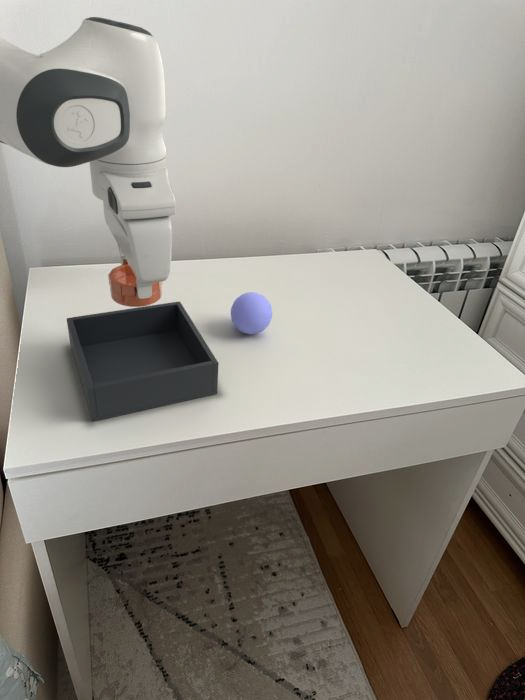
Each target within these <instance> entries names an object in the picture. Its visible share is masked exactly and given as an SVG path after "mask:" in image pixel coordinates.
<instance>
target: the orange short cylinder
mask: <svg viewBox="0 0 525 700" xmlns="http://www.w3.org/2000/svg"><path fill="white" fill-rule="evenodd" d="M107 275H108V277H107V278H108V286H109V291H110V296H111V300H112V301H114V302H115V303H116V304H118V305H121V306H124V307H129V308H130V307H131V308H138V307H145V306H151V305H154V304H155V303H157V302H158V301H160V300H161V298H162V296H163V281H161V282H154V283H153V284H152V296H151V297H150V298H144V299H140V298H139V297H138V295H137V293H136V291H135V289H136V288H135V282H136V276H135V275H134V273H133V271H132V269H131V267H130V265H129V264H123V265H121V264H120V265H118V266H115V267H114V268H112V269H111V271H110V272H109V273H108V274H107Z"/></svg>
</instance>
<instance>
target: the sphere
mask: <svg viewBox="0 0 525 700" xmlns="http://www.w3.org/2000/svg"><path fill="white" fill-rule="evenodd" d="M230 318H231V322H232V325H234V327H235V328H236V329H237V330H238V331H240V332H241V333H243V334H246V335H257V334H259V333H262V332H264V331H265V330H266V329H267V328H268V327H269V326H270V323H271V321H272V319H273V309H272V305H271V303H270V301H269V300H268V299H267V298H266V297H265V296H263V294H260V293H258V292H251V291H249V292H245V293H243V294H240V295H239V296H238V297H236V299H235V300H234V301H233V303H232V306H231V307H230Z"/></svg>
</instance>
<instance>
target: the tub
mask: <svg viewBox="0 0 525 700" xmlns="http://www.w3.org/2000/svg"><path fill="white" fill-rule="evenodd" d="M66 325H67V331H68V332H67V333H68V338H69V344H70V350H71V354H72V357H73V360H74V361H73V362H74V364H75V368H76V371H77V375H78V378H79V382H80V385H81V389H82V392H83V395H84V399H85V403H86V406H87V409H88V413H89V416H90V420H91V422H92V423H93V422H98V421H103V420H107V419H111V418H115V417H120V416H125V415H129V414H134V413H138V412H143V411H146V410H147V411H148V410H151V409H152V410H153V409H156V408H161V407H165V406H169V405H173V404H179V403H182V402H187V401H191V400H196V399H199V398H200V399H202V398H204V397H209V396H215V395H217V394H218V383H219V361H218V360H217V358H216V357H215V354H214V353H213V352H212V350H211V348H210V347H209V345H208V344H207V342H206V340H205V339H204V338H203V336H202V334H201V332H200V331H199V329H198V327H197V326H196V325H195V323H194V322H193V320H192V319H191V317H190V315H189V314H188V312H187V310H186V309H185V307H184V305H183V304H182V303H181V301H172V302H165V303H158V304H151V305H147V306H141V307H131V308H126V309H119V310H113V311H106V312H105V311H104V312H99V313H92V314H85V315H78V316H72V317H67V318H66Z"/></svg>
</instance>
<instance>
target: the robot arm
mask: <svg viewBox="0 0 525 700" xmlns="http://www.w3.org/2000/svg"><path fill="white" fill-rule="evenodd" d="M163 64H164V63H163V59H162V53H161V50H160V47H159V44H158V41H157V39H156V37H155V36H154V35H153V34H152V33H151V32H150V31H148V30H147V29H145V28H143V27H141V26H138V25H135V24H134V25H133V24H130V23H126V22H123V21H117V20H112V19H110V18H104V17H100V16H89V17H87V18H84V19H83V20H82V22H81V23H80V26H79V27H78V28H77V30H76V31H74V33H73V34H71V35H70V37H68V38H67V39H65V40H64V41H63V42H61V43H60V44H58V45H57V46H55V47H53V48H51V49H49V50H47V51H45V52H43V53H40V54H39V55H38V54H36V53H32V52H28V51H26V50H24V49H22V48H20V47H18V46H17V45H15V44H13V43H11V42H9V41H8V40H6V39H5V38H3V37H2V36H0V143H2V144H4V145H7V146H9V147H11V148H13V149H15V150H16V151H19V152H20V153H22V154H24V155H26V156H29V157H32V158H33V159H35V160H37V161H39V162H41V163H44V164H46V165H49V166H53V167H58V168H73V167H77V166H81V165H84V164H89V171H90V172H89V173H90V182H91V191H92V195H94V197H96V198H97V199H99V200H100V201H102V204H103V216H104V220H105V223H106V225H107V227H108V229H109V230H110V232H111V235H112V236H113V238H114V240H115V242H116V244H117V248H118V251H119V256H120V257H119V258H120V265H123V264H129V265H130V267H131V269H132V271H133V273H134V275H135V276H136V282H135V288H136V289H135V291H136V293H137V295H138V297H139V298H140V299H144V298H150V297H151V296H152V284H153V283H154V282H161V281H162V282H165V281H167V279H168V278H169V276H170V274H171V268H172V251H173V249H172V248H173V226H172V220H171V216H175V215H176V214H177V201H176V197H175V194H174V192H173V189H172V187H171V184H170V180H169V171H168V157H167V155H168V153H167V147H166V144H165V140H164V124H165V120H166V115H167V113H166V112H167V111H166V107H167V105H166V85H165V73H164V65H163Z"/></svg>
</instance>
